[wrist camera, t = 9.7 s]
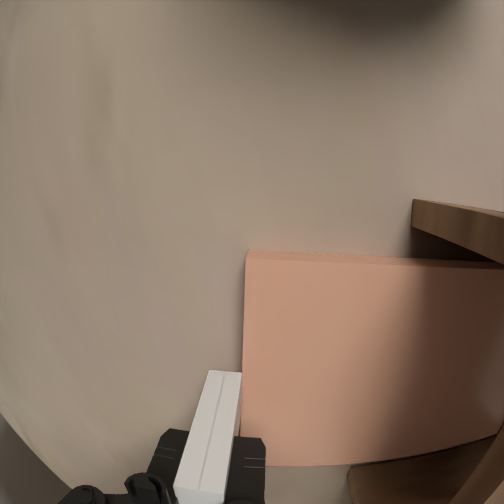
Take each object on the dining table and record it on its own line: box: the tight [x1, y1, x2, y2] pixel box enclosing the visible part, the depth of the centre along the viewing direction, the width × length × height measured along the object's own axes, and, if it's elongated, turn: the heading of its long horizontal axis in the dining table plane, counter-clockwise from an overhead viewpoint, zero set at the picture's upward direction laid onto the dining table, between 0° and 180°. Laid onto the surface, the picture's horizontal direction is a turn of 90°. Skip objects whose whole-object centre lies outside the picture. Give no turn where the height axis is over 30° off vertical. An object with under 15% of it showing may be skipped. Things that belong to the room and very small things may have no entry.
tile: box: [240, 250, 504, 466], centre depth 14 cm, size 18×12×2 cm, turn 88°
